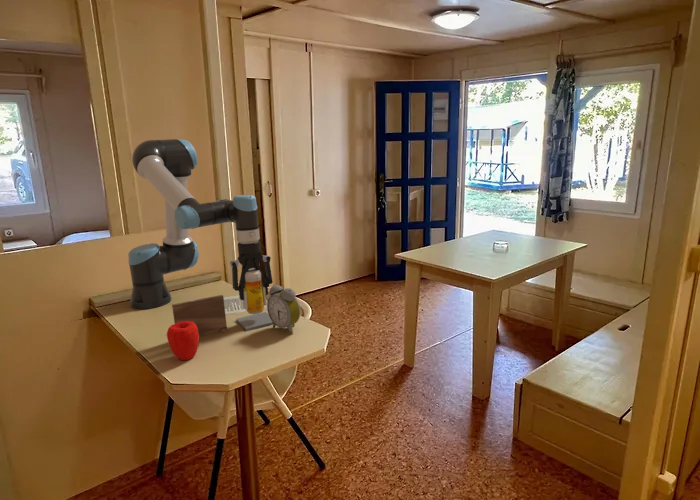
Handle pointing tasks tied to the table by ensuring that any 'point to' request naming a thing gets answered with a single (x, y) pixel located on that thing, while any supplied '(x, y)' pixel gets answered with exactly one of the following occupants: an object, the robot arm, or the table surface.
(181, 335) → the apple
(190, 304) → the screen
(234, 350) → the table surface
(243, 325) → the coaster
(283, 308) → the alarm clock
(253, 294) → the yellow pill bottle
